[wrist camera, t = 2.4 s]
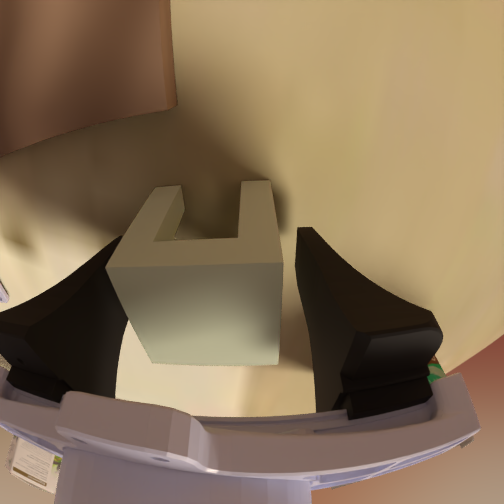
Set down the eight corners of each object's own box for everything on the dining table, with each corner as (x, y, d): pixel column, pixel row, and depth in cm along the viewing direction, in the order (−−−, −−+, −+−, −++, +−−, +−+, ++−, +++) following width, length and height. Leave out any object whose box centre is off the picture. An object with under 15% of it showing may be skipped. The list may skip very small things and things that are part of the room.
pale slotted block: (175, 274, 15) (152, 363, 10) (155, 187, 12) (105, 267, 7) (270, 271, 15) (278, 364, 10) (270, 180, 12) (283, 262, 7)
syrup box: (67, 399, 29) (45, 488, 17) (32, 377, 26) (4, 468, 14) (80, 394, 26) (56, 496, 15) (40, 369, 24) (8, 474, 12)
